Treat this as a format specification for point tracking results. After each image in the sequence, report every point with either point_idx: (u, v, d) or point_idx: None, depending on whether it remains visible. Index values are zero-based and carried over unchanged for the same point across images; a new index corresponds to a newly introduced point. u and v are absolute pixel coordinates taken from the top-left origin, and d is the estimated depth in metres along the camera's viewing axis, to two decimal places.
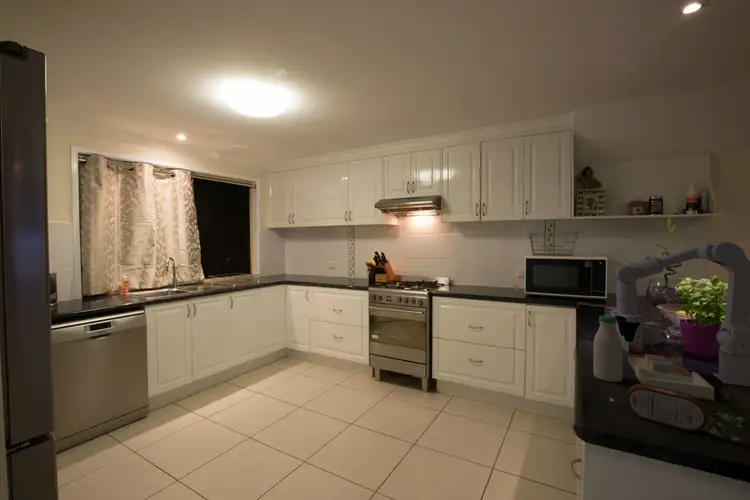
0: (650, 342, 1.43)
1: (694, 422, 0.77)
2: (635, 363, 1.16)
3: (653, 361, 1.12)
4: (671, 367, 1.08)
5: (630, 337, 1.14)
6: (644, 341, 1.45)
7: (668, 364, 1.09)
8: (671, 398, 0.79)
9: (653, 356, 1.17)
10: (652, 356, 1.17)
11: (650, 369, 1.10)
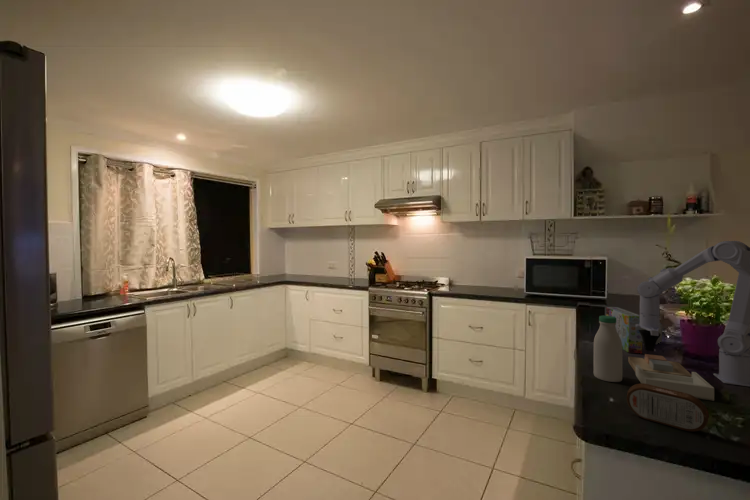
0: None
1: (694, 422, 0.77)
2: (635, 363, 1.16)
3: (653, 361, 1.12)
4: (671, 367, 1.08)
5: (651, 347, 1.23)
6: None
7: (668, 364, 1.09)
8: (671, 398, 0.79)
9: (653, 356, 1.17)
10: (652, 356, 1.17)
11: (650, 369, 1.10)
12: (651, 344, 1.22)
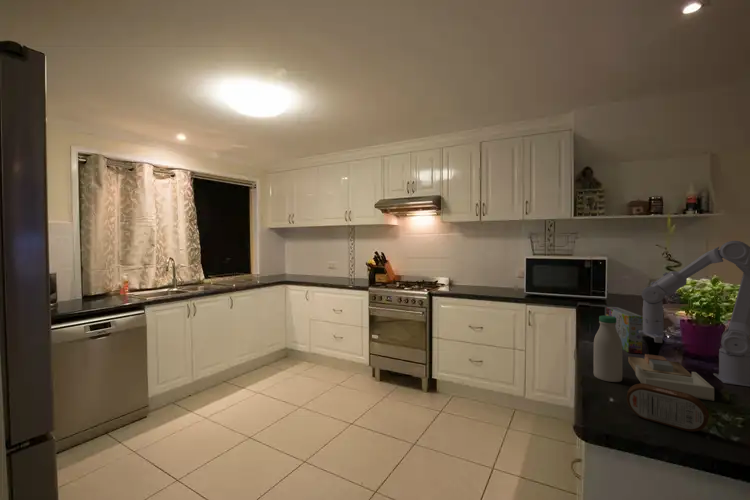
0: None
1: (694, 422, 0.77)
2: (635, 363, 1.16)
3: (653, 361, 1.12)
4: (671, 367, 1.08)
5: (654, 354, 1.19)
6: None
7: (668, 364, 1.09)
8: (671, 398, 0.79)
9: (653, 356, 1.17)
10: (652, 356, 1.17)
11: (650, 369, 1.10)
12: (655, 351, 1.18)
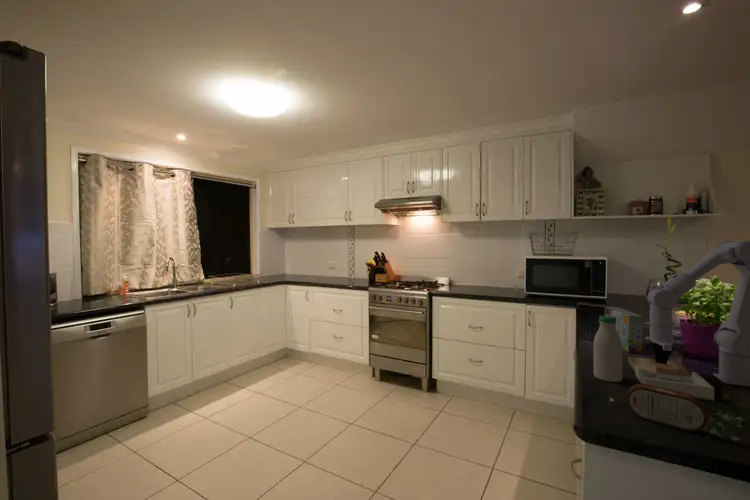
0: (650, 342, 1.43)
1: (694, 422, 0.77)
2: (635, 363, 1.16)
3: (661, 375, 1.04)
4: None
5: (662, 362, 1.10)
6: (644, 341, 1.45)
7: (677, 378, 1.01)
8: (671, 398, 0.79)
9: (661, 365, 1.08)
10: (660, 365, 1.08)
11: (650, 369, 1.10)
12: (663, 359, 1.10)
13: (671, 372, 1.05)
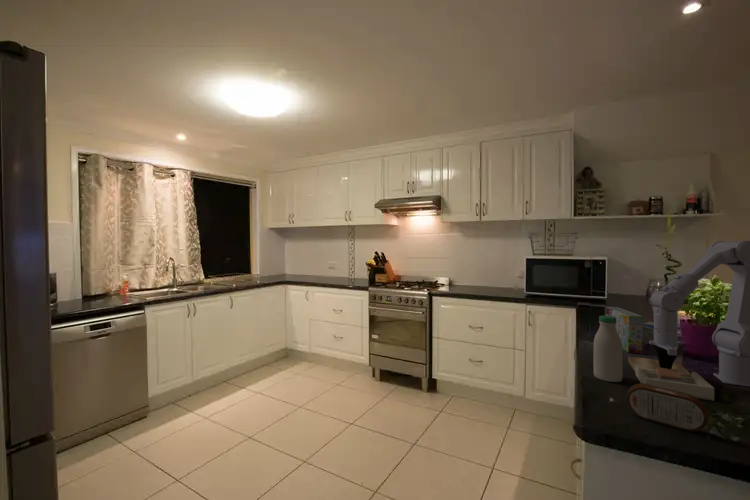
0: None
1: (694, 422, 0.77)
2: (635, 363, 1.16)
3: None
4: None
5: (667, 367, 1.06)
6: (644, 341, 1.45)
7: None
8: (671, 398, 0.79)
9: (666, 371, 1.04)
10: (665, 371, 1.04)
11: (650, 369, 1.10)
12: (668, 364, 1.06)
13: None
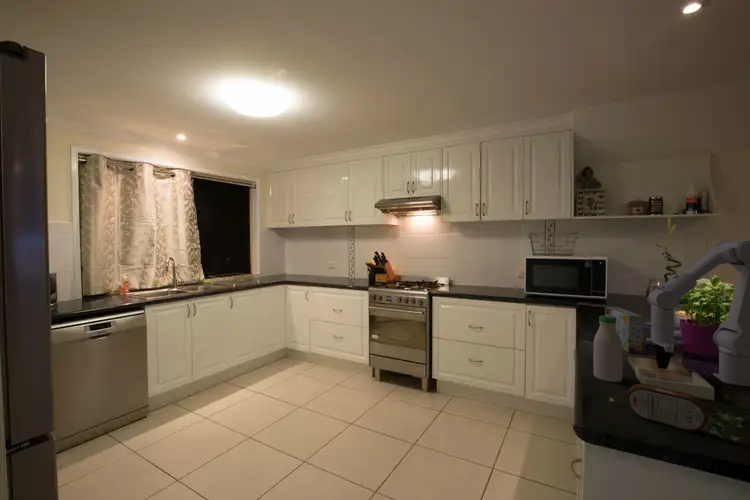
0: (650, 342, 1.43)
1: (694, 422, 0.77)
2: (635, 363, 1.16)
3: None
4: None
5: (664, 364, 1.09)
6: (644, 341, 1.45)
7: None
8: (671, 398, 0.79)
9: (666, 375, 1.04)
10: (665, 375, 1.04)
11: (650, 369, 1.10)
12: (665, 361, 1.08)
13: None
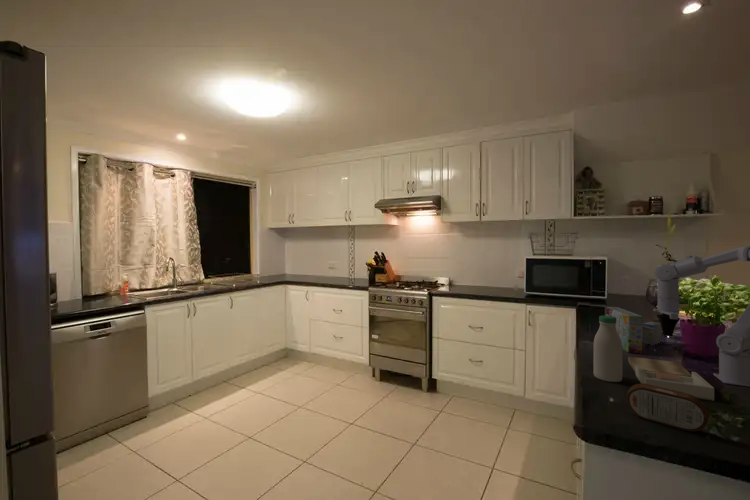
0: (650, 342, 1.43)
1: (694, 422, 0.77)
2: (635, 363, 1.16)
3: None
4: None
5: (669, 331, 1.19)
6: (644, 341, 1.45)
7: None
8: (671, 398, 0.79)
9: (666, 375, 1.04)
10: (665, 375, 1.04)
11: (650, 369, 1.10)
12: (670, 329, 1.19)
13: None
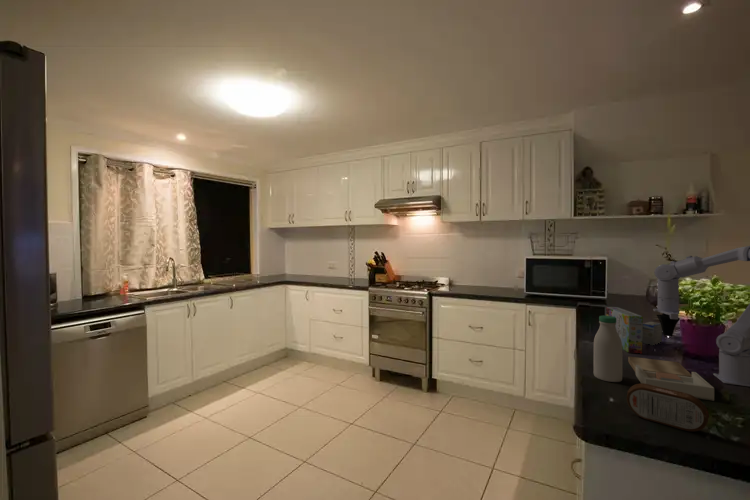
0: (650, 342, 1.43)
1: (694, 422, 0.77)
2: (635, 363, 1.16)
3: None
4: None
5: (669, 331, 1.19)
6: (644, 341, 1.45)
7: None
8: (671, 398, 0.79)
9: (666, 375, 1.04)
10: (665, 375, 1.04)
11: (650, 369, 1.10)
12: (670, 329, 1.19)
13: None
